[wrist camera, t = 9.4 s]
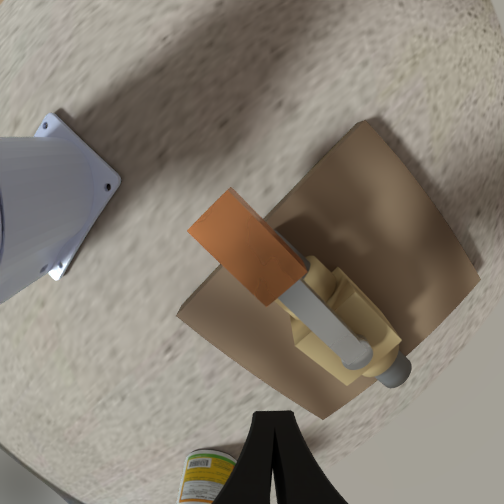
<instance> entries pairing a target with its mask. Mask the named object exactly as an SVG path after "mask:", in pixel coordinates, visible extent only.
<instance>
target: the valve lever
mask: <svg viewBox="0 0 504 504" xmlns="http://www.w3.org/2000/svg"><path fill="white" fill-rule="evenodd" d="M187 232H188V233H190V234H191V235H192V236H193V237H194V238H195V239H196V240H197V241H198V242H199V243H200V244H201V245H202V246H203V247H204V248H205V249H206V250H207V251H208V252H209V253H210V254H211V255H212V256H213V257H214V258H215V259H216V260H217V261H218V262H219V263H220V264H221V265H222V266H224V267H225V268H226V269H227V270H228V271H229V272H230V273H231V274H232V275H233V276H234V277H235V278H236V279H237V280H238V281H239V282H240V283H241V284H242V285H243V286H244V287H246V288H247V289H248V290H249V291H250V292H251V293H252V294H253V295H254V296H255V297H256V298H257V299H258V300H259V301H260V302H261V303H263V304H264V305H265V306H266V307H268V306H269V305H270V304H271V303H272V302H273V301H275V300H276V299H277V298H278V299H279V300H280V301H281V302H282V303H283V304H284V305H285V306H286V307H287V308H288V309H289V310H290V311H291V312H293V313H294V314H295V315H296V316H297V317H298V318H299V319H300V320H301V321H302V322H303V323H304V324H305V325H306V326H307V327H308V328H309V329H310V330H311V331H312V332H313V333H315V334H316V335H317V336H318V337H319V338H320V339H321V340H322V341H323V342H324V343H325V344H326V345H327V346H328V347H329V348H330V349H331V350H333V351H334V352H335V353H336V354H337V355H338V356H339V357H340V358H341V361H342V364H343V366H344V367H345V368H347V369H349V370H358V369H361V368H363V367H365V366H366V365H368V364H369V362H370V361H371V360H372V357H373V350H372V348H371V346H370V344H369V342H368V341H367V339H366V337H365V336H363V335H360V334H355V333H354V332H353V331H352V330H351V329H350V327H349V326H348V325H347V324H346V323H345V322H344V321H343V320H342V319H341V318H340V317H339V316H338V315H337V314H336V313H335V312H334V311H333V310H332V309H331V308H330V307H329V305H328V304H327V303H326V302H325V301H324V300H323V299H322V298H321V297H320V296H319V295H318V294H317V293H316V292H315V291H314V290H313V289H312V288H311V287H310V286H309V285H308V284H307V283H306V282H305V281H304V280H303V279H302V278H301V277H303V276H304V275H305V274H306V273H307V269H306V267H305V265H304V262H303V260H302V259H301V258H300V257H299V256H298V255H297V254H296V253H295V252H294V251H293V250H292V249H291V248H290V247H289V246H288V245H287V244H286V243H285V241H284V240H283V239H282V238H281V237H280V236H279V235H278V234H277V233H276V232H275V231H274V230H273V229H272V228H271V227H270V226H269V225H268V224H267V223H266V222H265V221H264V220H263V219H262V218H261V217H260V216H259V215H258V214H257V213H256V212H255V211H254V210H253V209H252V208H251V207H250V206H249V205H248V203H247V202H246V201H245V200H244V199H243V198H242V197H241V196H240V195H239V194H238V193H237V192H236V191H235V190H234V189H233V188H232V187H230V188H229V189H228V190H227V191H226V192H225V193H224V194H223V195H222V196H221V197H220V198H219V199H218V200H217V201H216V202H215V203H214V204H213V205H212V206H211V207H210V208H209V209H208V210H207V211H206V212H205V213H204V214H203V215H202V216H201V217H200V218H199V219H198V220H197V221H196V222H195V223H194V224H193V225H192V226H191V227H190V228H189V229H188V230H187Z"/></svg>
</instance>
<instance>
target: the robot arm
mask: <svg viewBox="0 0 504 504" xmlns="http://www.w3.org/2000/svg"><path fill="white" fill-rule="evenodd" d="M47 123H48V127H47V128H46V124H47ZM108 183H109V184H110V185H111V190H110V191H109V190H108V189H107V184H108ZM120 184H121V177H120V176H119V174H118V173H117V172H116V171H114V170H113V169H112V168H111V167H110V166H109V165H108V164H107V163H106V162H105V161H104V160H103V159H102V158H101V157H100V156H98V155H97V154H96V153H95V152H94V151H93V150H92V149H91V148H90V147H89V146H88V145H87V144H86V143H85V142H84V141H83V140H82V139H81V138H80V137H79V136H78V135H76V134H75V133H74V132H73V131H72V130H71V129H70V128H69V127H68V126H67V125H66V124H65V123H64V122H63V121H62V120H61V119H60V118H59V117H58V116H57V115H56V114H55V113H48V114H47V115H46V116H45V118H44V120H43V121H42V123H41V125H40V126H39V128H38V130H37V132H36V133H35V135H34V137H0V304H2V303H4V302H5V301H7V300H8V299H10V298H11V297H13V296H14V295H15V294H17V293H18V292H20V291H21V290H23V289H24V288H26V287H27V286H29V285H30V284H32V283H33V282H35V281H36V280H38V279H39V278H41V277H42V276H44V275H46V274H47V273H48V274H49V275H50V276H51V277H52V278H53V279H54V280H59V279H61V278H62V276H63V274H64V273H65V271H66V269H67V267H68V265H69V264H70V262H71V260H72V259H73V257H74V255H75V253H76V252H77V250H78V248H79V247H80V245H81V243H82V242H83V240H84V238H85V237H86V235H87V234H88V232H89V230H90V229H91V227H92V226H93V224H94V223H95V221H96V219H97V218H98V216H99V215H100V213H101V212H102V210H103V209H104V207H105V206H106V204H107V203H108V201H109V200H110V199H111V197H112V196H113V194H114V193H115V191H116V190H117V189H118V187H119V186H120ZM60 262H62V264H63V266H61V264H60ZM272 469H273V474H274V481H275V489H276V497H277V503H278V504H348V503H347V502H346V501H345V500H344V498H343V497H342V496H341V495H340V494H339V493H338V491H337V490H336V489H335V488H334V486H333V485H332V484H331V483H330V481H329V480H328V479H327V477H326V476H325V474H324V473H323V471H322V470H321V468H320V467H319V465H318V463H317V462H316V460H315V459H314V457H313V455H312V453H311V451H310V450H309V448H308V446H307V444H306V442H305V440H304V438H303V436H302V434H301V432H300V429H299V427H298V424H297V422H296V419H295V416H294V412H292V411H291V410H288V411H256V412H254V413H253V417H252V423H251V427H250V430H249V433H248V436H247V439H246V442H245V444H244V447H243V449H242V452H241V454H240V456H239V458H238V461H237V463H236V464H235V466H234V468H233V470H232V472H231V474H230V476H229V478H228V479H227V481H226V483H225V484H224V486H223V487H222V489H221V491H220V492H219V494H218V495H217V496H216V498H215V499H214V501H213V502H212V503H211V504H270V491H271V480H272Z"/></svg>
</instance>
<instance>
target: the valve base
mask: <svg viewBox="0 0 504 504" xmlns="http://www.w3.org/2000/svg"><path fill="white" fill-rule="evenodd" d="M263 220H264V221H265V222H266V223H267V224H268V225H269V226H270V227H271V228H272V229H273V230H274V231H275V232H276V233H277V234H278V235H279V236H280V237H281V238H282V239H283V240H284V241H285V243H286V244H287V245H288V246H289V247H290V248H291V249H292V250H293V251H294V252H295V253H296V254H297V255H298V256H299V257H300V258H301V259H302V260H303V262H304V265H305V267H306V269H307V273H306V274H305V275H304V276H303V277H301V278H302V279H303V280H304V281H305V282H306V283H307V284H308V285H309V286H310V287H311V288H312V289H313V290H314V291H315V292H316V293H317V294H318V295H319V296H320V297H321V298H322V299H323V300H324V301H325V302H326V303H327V304H328V305H329V307H330V308H331V309H332V310H333V311H334V312H335V313H336V314H337V315H338V316H339V317H340V318H341V319H342V320H343V321H344V322H345V323H346V324H347V325H348V326H349V327H350V329H351V330H352V331H353V332H354V333H355V334H360V335H363V336H365V337H366V339H367V341H368V342H369V344H370V346H371V348H372V350H373V357H372V360H371V361H370V362H369V364H368V365H366V366H365V367H363V368H361V369H358V370H349V369H347V368H345V367H344V366H343V364H342V361H341V358H340V357H339V356H338V355H337V354H336V353H335V352H334V351H333V350H331V349H330V348H329V347H328V346H327V345H326V344H325V343H324V342H323V341H322V340H321V339H320V338H319V337H318V336H317V335H316V334H315V333H313V332H312V331H311V330H310V329H309V328H308V327H307V326H306V325H305V324H304V323H303V322H302V321H301V320H300V319H299V318H298V317H297V316H296V315H295V314H294V313H293V312H291V311H290V310H289V309H288V308H287V307H286V306H285V305H284V304H283V303H282V302H281V301H280V300H279V299H278V298H277V299H276V300H275V301H273V302H272V303H271V304H270V305H269V306H268V307H266V306H265V305H264V304H263V303H261V302H260V301H259V300H258V299H257V298H256V297H255V296H254V295H253V294H252V293H251V292H250V291H249V290H248V289H247V288H246V287H244V286H243V285H242V284H241V283H240V282H239V281H238V280H237V279H236V278H235V277H234V276H233V275H232V274H231V273H230V272H229V271H228V270H227V269H226V268H225V267H224V266H222V265H221V264H220V265H219V266H218V267H217V268H216V269H215V270H214V271H213V272H212V273H211V274H210V275H209V277H208V278H207V279H206V280H205V281H204V282H203V283H202V284H201V285H200V286H199V287H198V288H197V289H196V290H195V291H194V292H193V294H192V295H191V296H190V297H189V298H188V299H187V300H186V301H185V302H184V303H183V304H182V305H181V307H180V309H179V311H178V313H177V315H176V316H177V317H178V318H179V319H181V320H182V321H183V322H184V323H186V324H187V325H188V326H189V327H191V328H192V329H193V330H194V331H196V332H197V333H198V334H199V335H201V336H202V337H203V338H205V339H206V340H207V341H209V342H210V343H211V344H212V345H214V346H215V347H216V348H218V349H219V350H220V351H222V352H223V353H224V354H226V355H227V356H228V357H230V358H231V359H233V360H234V361H235V362H237V363H238V364H239V365H241V366H242V367H244V368H245V369H246V370H248V371H249V372H251V373H252V374H254V375H255V376H256V377H258V378H259V379H261V380H262V381H264V382H265V383H267V384H268V385H269V386H271V387H272V388H274V389H275V390H277V391H278V392H280V393H281V394H283V395H284V396H286V397H288V398H289V399H291V400H292V401H294V402H295V403H297V404H298V405H300V406H301V407H303V408H305V409H306V410H308V411H309V412H311V413H313V414H314V415H316V416H318V417H319V418H321V419H322V420H324V419H325V418H327V417H328V416H330V415H331V414H332V413H334V412H335V411H337V410H338V409H340V408H341V407H343V406H344V405H345V404H347V403H348V402H349V401H351V400H352V399H354V398H355V397H356V396H358V395H359V394H360V393H362V392H363V391H364V390H366V389H367V388H368V387H369V386H371V385H372V384H373V383H375V382H376V381H377V380H379V381H380V382H381V383H382V384H384V385H385V386H386V387H388V388H395V387H398V386H400V385H401V384H403V383H404V382H405V381H406V380H407V378H408V377H409V375H410V373H411V368H412V366H411V362H410V361H409V360H408V359H407V358H406V356H407V355H408V354H409V353H410V352H411V351H412V350H413V349H415V348H416V347H417V346H418V345H419V344H420V343H421V342H422V341H423V340H424V339H425V338H426V337H427V336H428V335H429V334H431V333H432V332H433V331H434V330H435V329H436V328H437V327H438V326H439V325H440V324H441V323H442V322H443V321H444V320H445V319H446V318H447V317H448V315H449V314H450V313H451V312H452V311H453V310H454V309H455V308H456V307H457V306H458V305H459V304H460V303H461V302H462V301H463V299H464V298H465V297H466V296H467V295H468V294H469V293H470V292H471V290H472V289H473V288H474V287H475V286H476V285H477V283H478V282H479V281H480V280H481V279H480V277H479V275H478V274H477V272H476V270H475V268H474V266H473V265H472V263H471V261H470V259H469V258H468V256H467V254H466V253H465V251H464V249H463V248H462V246H461V244H460V243H459V241H458V239H457V238H456V236H455V235H454V233H453V232H452V230H451V228H450V227H449V225H448V224H447V222H446V221H445V219H444V218H443V216H442V215H441V213H440V212H439V211H438V209H437V208H436V206H435V205H434V203H433V202H432V201H431V199H430V198H429V196H428V195H427V194H426V192H425V191H424V190H423V188H422V187H421V186H420V184H419V183H418V182H417V180H416V179H415V178H414V176H413V175H412V174H411V173H410V171H409V170H408V169H407V168H406V166H405V165H404V164H403V163H402V161H401V160H400V159H399V158H398V156H397V155H396V154H395V153H394V152H393V151H392V149H391V148H390V147H389V146H388V145H387V144H386V142H385V141H384V140H383V139H382V138H381V137H380V136H379V134H378V133H377V132H376V131H375V130H374V129H373V128H372V127H371V126H370V125H369V123H368V122H367V121H366V120H364V121H361V122H358V123H356V124H355V125H354V126H353V127H352V128H351V129H350V131H349V132H348V133H347V134H346V135H345V136H344V137H343V138H342V139H341V140H340V141H339V142H338V143H337V144H336V145H335V146H334V147H333V148H332V149H331V150H330V151H329V152H328V153H327V154H326V155H325V156H324V157H323V158H322V159H321V160H320V161H319V162H318V163H317V164H316V165H315V166H314V167H313V168H312V169H311V170H310V171H309V172H308V173H307V174H306V175H305V176H304V177H303V178H302V179H301V180H300V181H299V183H298V184H297V185H296V186H295V187H294V188H293V189H292V190H291V191H290V192H289V193H288V194H287V195H286V196H285V197H284V198H283V199H282V200H281V201H280V202H279V203H278V204H277V205H276V206H275V207H274V208H273V209H272V210H271V211H270V213H269V214H268V215H267V216H266V217H265V218H264V219H263Z"/></svg>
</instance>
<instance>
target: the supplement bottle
mask: <svg viewBox="0 0 504 504" xmlns="http://www.w3.org/2000/svg"><path fill="white" fill-rule="evenodd" d="M236 463H237V461H236V460H235V459H234V458H233V457H232V456H230V455H228V454H226V453H223V452H219V451H214V450H198V451H194V452H192V453H190V454H189V455H188V456H187V458H186V460H185V464H184V469H183V473H182V478H181V482H180V487H179V492H178V496H177V501H176V504H211V503H212V502H213V501H214V499H215V498H216V496H217V495H218V494H219V492H220V491H221V489H222V487H223V486H224V484H225V483H226V481H227V479H228V478H229V476H230V474H231V472H232V470H233V468H234V466H235V464H236Z"/></svg>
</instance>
